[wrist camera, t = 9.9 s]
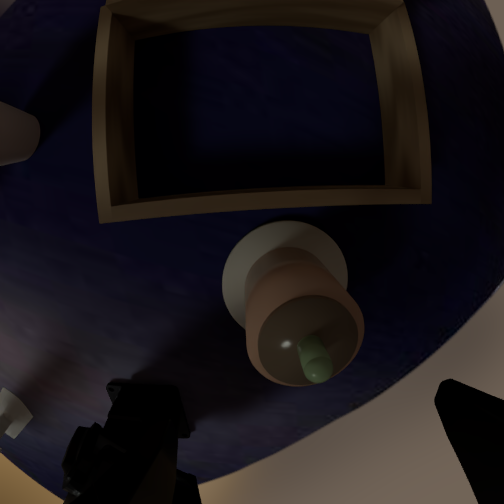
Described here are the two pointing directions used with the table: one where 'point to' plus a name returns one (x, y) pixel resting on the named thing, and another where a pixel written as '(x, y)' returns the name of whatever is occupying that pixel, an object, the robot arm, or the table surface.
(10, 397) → the heart sculpture
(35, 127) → the smoothie
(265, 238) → the cream round disc
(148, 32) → the open wooden box frame
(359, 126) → the table surface
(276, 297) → the clay pot
